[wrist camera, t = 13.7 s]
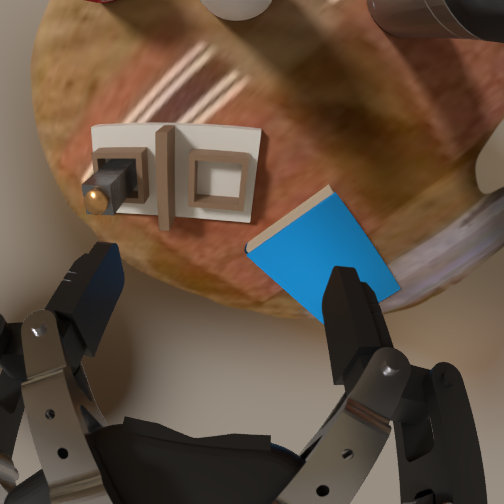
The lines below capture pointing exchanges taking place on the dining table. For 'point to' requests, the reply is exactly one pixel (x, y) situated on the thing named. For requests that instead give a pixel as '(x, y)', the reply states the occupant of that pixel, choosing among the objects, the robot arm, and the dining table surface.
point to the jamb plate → (184, 168)
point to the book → (318, 251)
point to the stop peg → (110, 186)
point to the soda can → (101, 1)
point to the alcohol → (236, 8)
